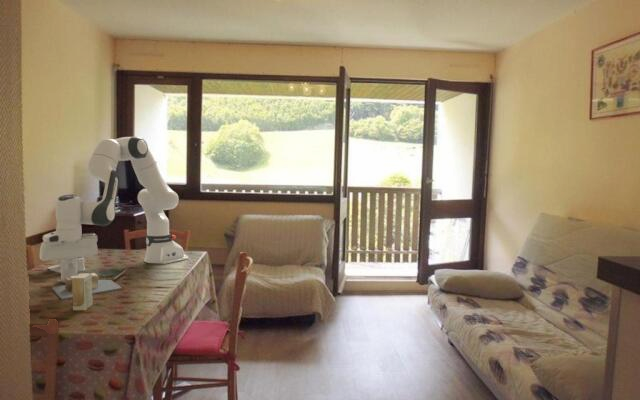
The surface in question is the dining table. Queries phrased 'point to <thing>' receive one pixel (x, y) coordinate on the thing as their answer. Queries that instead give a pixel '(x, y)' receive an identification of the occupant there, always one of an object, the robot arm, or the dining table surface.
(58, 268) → the phone holder
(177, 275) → the dining table surface
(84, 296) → the skincare box
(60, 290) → the grey mat
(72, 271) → the travel mug
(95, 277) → the birch block
